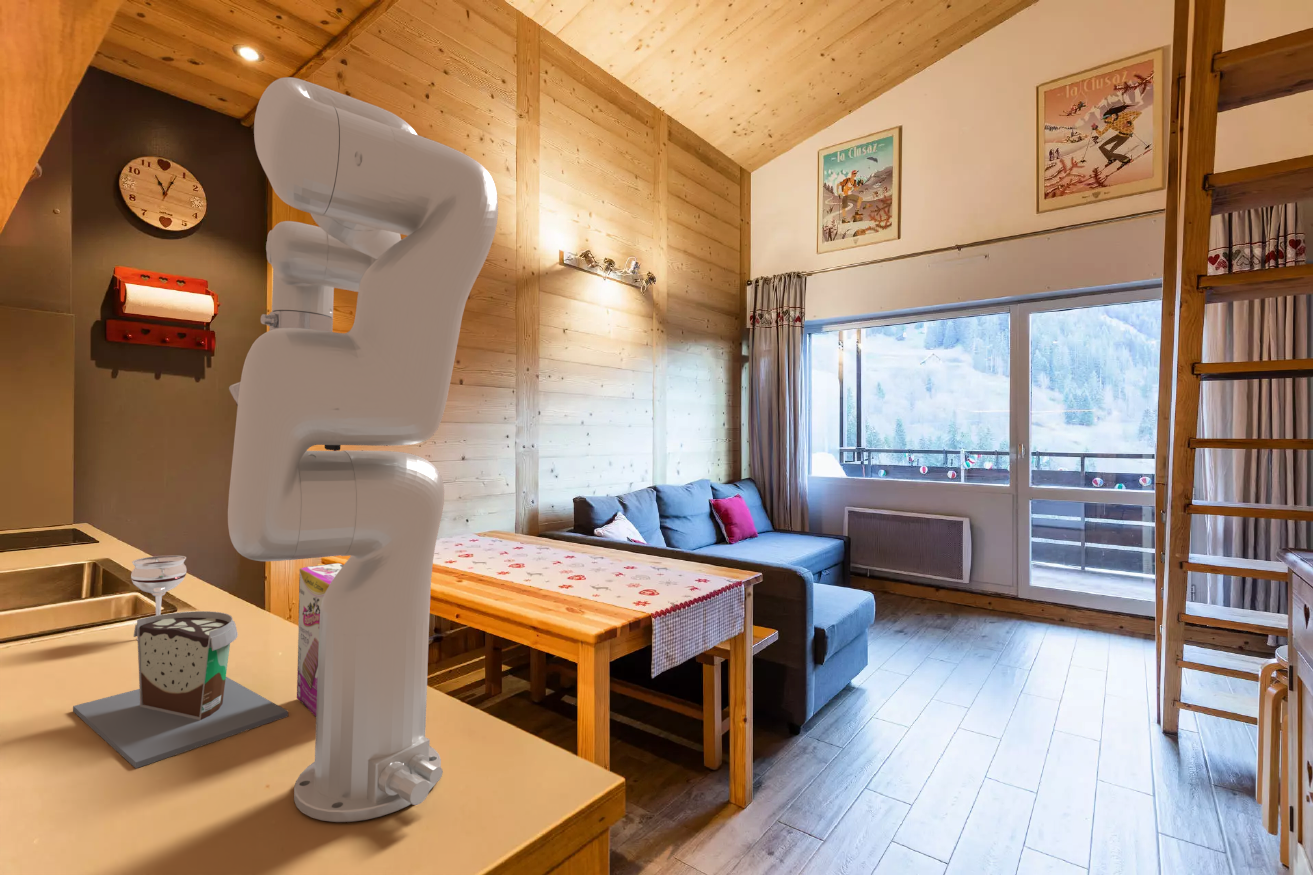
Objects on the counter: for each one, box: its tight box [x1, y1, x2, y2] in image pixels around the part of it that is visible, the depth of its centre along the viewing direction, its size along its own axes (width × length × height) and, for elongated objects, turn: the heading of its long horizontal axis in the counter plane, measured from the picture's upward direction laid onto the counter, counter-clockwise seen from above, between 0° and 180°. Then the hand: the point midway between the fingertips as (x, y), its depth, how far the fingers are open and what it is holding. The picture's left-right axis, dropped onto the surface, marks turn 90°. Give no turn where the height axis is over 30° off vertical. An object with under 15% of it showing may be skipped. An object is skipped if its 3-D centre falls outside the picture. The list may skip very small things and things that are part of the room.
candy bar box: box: [296, 562, 344, 717], centre depth 73 cm, size 11×5×16 cm, turn 47°
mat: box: [72, 676, 289, 769], centre depth 71 cm, size 20×14×1 cm
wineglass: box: [130, 555, 188, 641], centre depth 95 cm, size 7×7×12 cm
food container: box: [133, 610, 239, 720], centre depth 72 cm, size 12×6×10 cm, turn 74°
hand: (298, 449), depth 86 cm, fingers open, 9 cm apart
